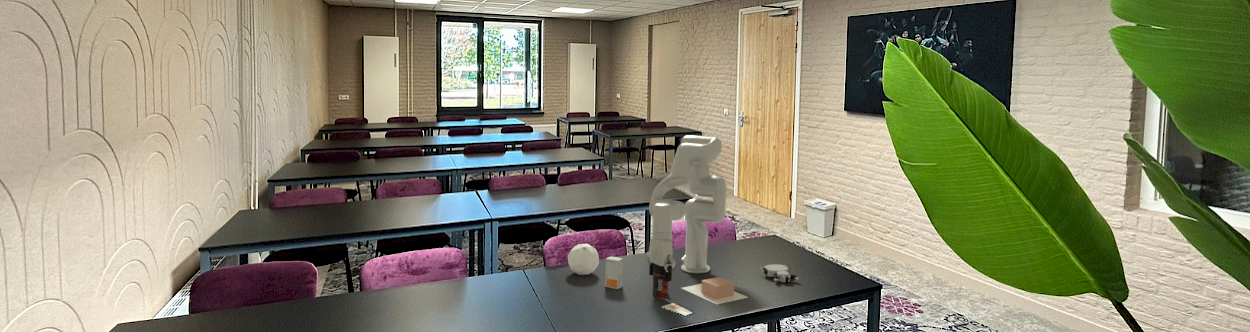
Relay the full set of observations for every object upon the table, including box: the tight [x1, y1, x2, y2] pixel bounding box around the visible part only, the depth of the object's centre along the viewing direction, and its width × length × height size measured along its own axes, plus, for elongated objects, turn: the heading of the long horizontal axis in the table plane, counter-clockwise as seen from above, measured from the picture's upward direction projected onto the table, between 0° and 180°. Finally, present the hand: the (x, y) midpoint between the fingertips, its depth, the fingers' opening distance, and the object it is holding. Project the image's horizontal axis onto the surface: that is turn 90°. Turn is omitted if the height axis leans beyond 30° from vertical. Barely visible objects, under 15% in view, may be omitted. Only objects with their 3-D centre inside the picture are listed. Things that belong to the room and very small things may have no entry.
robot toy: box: [759, 264, 800, 283], centre depth 309 cm, size 12×4×15 cm
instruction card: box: [661, 301, 696, 317], centre depth 270 cm, size 12×9×1 cm
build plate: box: [681, 283, 749, 305], centre depth 286 cm, size 22×16×1 cm
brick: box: [700, 276, 735, 299], centre depth 284 cm, size 9×9×5 cm
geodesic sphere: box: [567, 243, 600, 276], centre depth 308 cm, size 14×14×14 cm
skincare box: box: [604, 256, 624, 290], centre depth 293 cm, size 6×4×12 cm
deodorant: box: [652, 263, 669, 299], centre depth 283 cm, size 6×6×15 cm
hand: (660, 278), depth 283 cm, fingers open, 9 cm apart
